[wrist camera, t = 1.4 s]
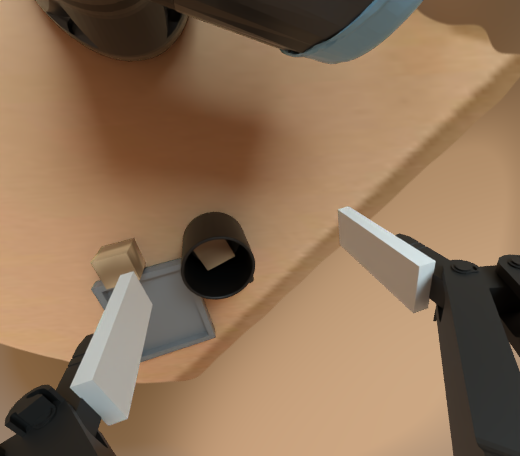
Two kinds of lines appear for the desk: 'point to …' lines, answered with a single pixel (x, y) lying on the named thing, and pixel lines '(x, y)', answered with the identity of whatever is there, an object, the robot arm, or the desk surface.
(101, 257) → the oak block
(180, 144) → the desk surface
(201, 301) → the tray
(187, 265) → the mug
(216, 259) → the walnut block
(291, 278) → the desk surface
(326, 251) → the desk surface
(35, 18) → the desk surface
